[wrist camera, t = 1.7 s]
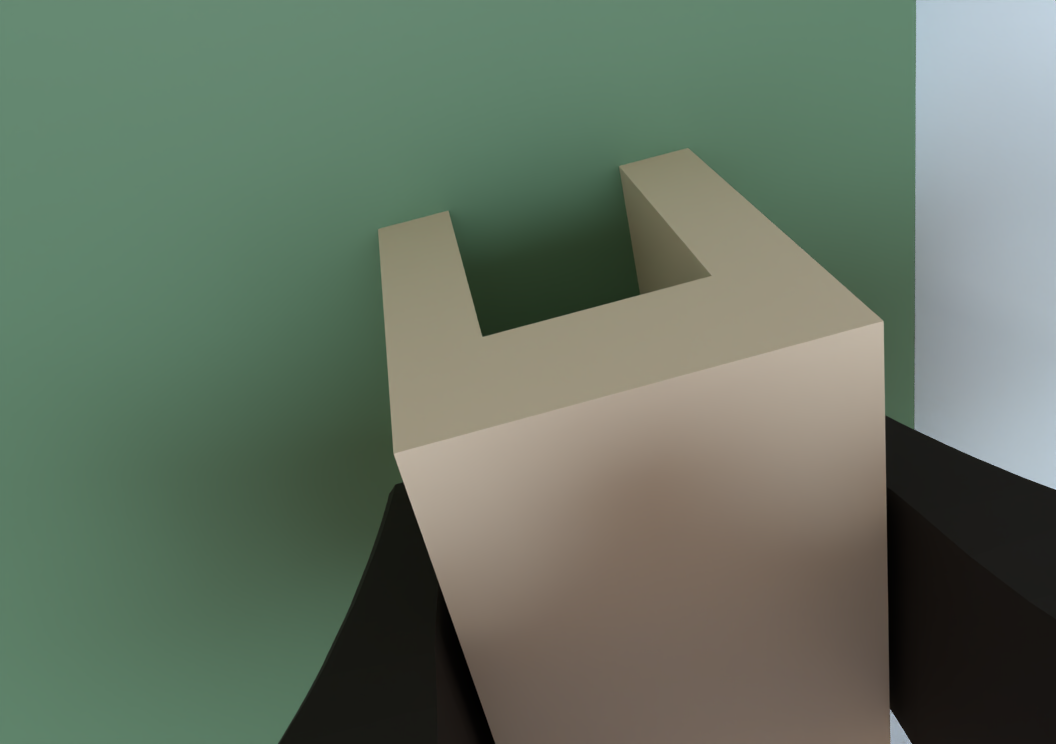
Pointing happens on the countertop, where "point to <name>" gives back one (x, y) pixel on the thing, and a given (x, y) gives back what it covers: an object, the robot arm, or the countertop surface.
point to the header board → (342, 286)
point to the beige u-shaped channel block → (654, 482)
